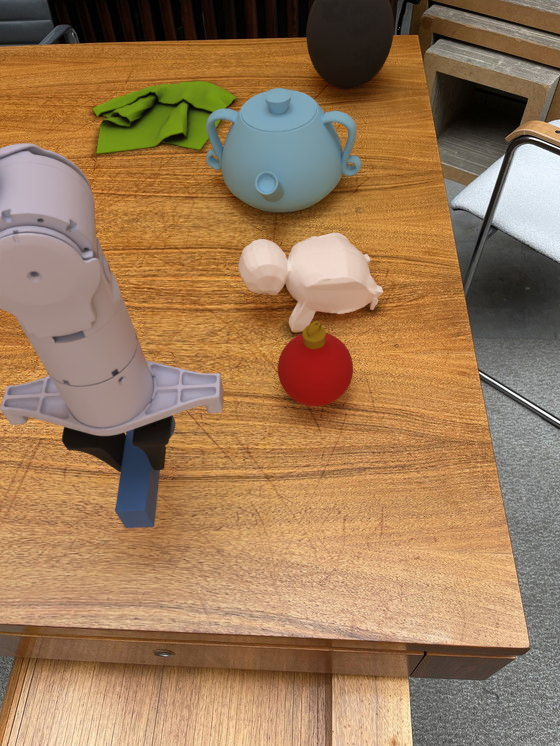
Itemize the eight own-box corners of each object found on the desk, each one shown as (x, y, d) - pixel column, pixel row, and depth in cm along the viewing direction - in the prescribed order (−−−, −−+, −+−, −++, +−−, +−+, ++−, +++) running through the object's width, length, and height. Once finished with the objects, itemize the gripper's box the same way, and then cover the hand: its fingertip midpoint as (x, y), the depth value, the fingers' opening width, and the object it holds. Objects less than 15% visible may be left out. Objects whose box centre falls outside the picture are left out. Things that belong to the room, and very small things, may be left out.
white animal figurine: (345, 285, 75) (223, 271, 70) (375, 228, 69) (243, 209, 64) (364, 339, 70) (234, 329, 65) (398, 282, 64) (257, 266, 59)
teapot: (364, 153, 86) (369, 60, 76) (352, 255, 74) (356, 160, 64) (222, 149, 89) (208, 58, 78) (188, 246, 77) (167, 154, 67)
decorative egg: (307, 65, 101) (305, -41, 89) (386, 61, 100) (394, -46, 88) (307, 108, 93) (304, -2, 82) (392, 104, 93) (401, -7, 81)
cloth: (253, 94, 97) (251, 79, 95) (175, 175, 85) (172, 160, 83) (142, 70, 103) (139, 55, 101) (57, 143, 92) (51, 128, 90)
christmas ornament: (323, 351, 66) (322, 281, 58) (366, 396, 62) (372, 328, 54) (266, 385, 63) (257, 317, 55) (308, 433, 60) (304, 369, 52)
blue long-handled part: (166, 526, 47) (157, 509, 45) (113, 529, 48) (102, 512, 45) (177, 406, 54) (170, 386, 52) (130, 409, 54) (121, 388, 52)
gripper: (212, 293, 41) (236, 411, 52) (-11, 307, 41) (60, 421, 52) (207, 382, 37) (235, 490, 47) (-41, 396, 37) (43, 500, 48)
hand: (143, 459), depth 49 cm, fingers closed on blue long-handled part, 2 cm apart
